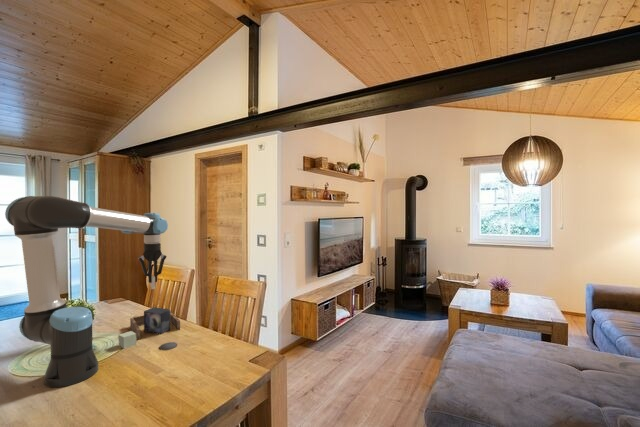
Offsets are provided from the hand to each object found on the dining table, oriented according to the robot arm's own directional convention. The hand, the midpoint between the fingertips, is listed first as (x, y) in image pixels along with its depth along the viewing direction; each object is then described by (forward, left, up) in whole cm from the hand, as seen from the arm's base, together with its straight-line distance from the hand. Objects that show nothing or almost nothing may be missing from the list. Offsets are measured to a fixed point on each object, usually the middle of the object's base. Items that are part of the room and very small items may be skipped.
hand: (153, 288), depth 156 cm
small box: (-9, 0, -19) cm, 21 cm away
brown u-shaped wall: (-5, 0, -19) cm, 20 cm away
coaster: (-31, 0, -19) cm, 36 cm away
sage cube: (-18, +14, -19) cm, 30 cm away
